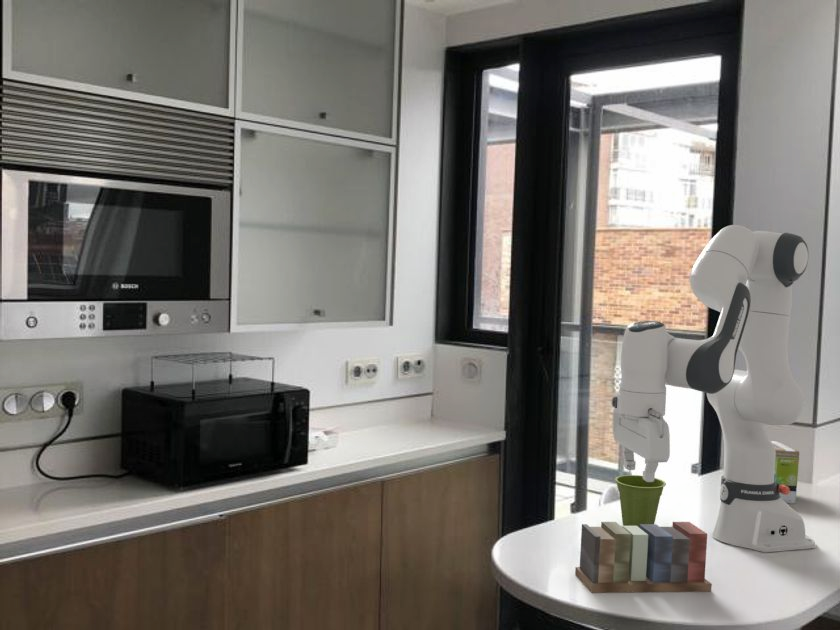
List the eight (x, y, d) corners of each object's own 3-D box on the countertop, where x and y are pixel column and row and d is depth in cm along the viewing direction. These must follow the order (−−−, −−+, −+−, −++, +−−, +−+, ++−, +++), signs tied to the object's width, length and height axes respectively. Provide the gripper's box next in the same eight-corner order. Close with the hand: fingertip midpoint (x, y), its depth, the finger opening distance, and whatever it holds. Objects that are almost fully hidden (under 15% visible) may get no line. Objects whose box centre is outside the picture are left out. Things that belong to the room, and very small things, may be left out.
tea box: (797, 504, 242) (800, 450, 241) (760, 502, 242) (763, 449, 241) (775, 490, 257) (779, 439, 256) (741, 489, 257) (744, 438, 256)
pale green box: (634, 569, 178) (636, 525, 177) (645, 580, 172) (648, 534, 171) (619, 570, 177) (622, 525, 177) (630, 580, 171) (633, 534, 171)
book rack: (688, 573, 181) (691, 520, 181) (711, 591, 171) (714, 535, 171) (575, 574, 178) (578, 520, 177) (591, 592, 168) (594, 535, 167)
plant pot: (602, 522, 216) (605, 476, 216) (642, 518, 221) (644, 473, 220) (633, 536, 205) (636, 488, 205) (673, 532, 210) (676, 485, 210)
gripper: (680, 414, 163) (676, 488, 163) (637, 396, 183) (634, 463, 184) (647, 414, 162) (644, 488, 163) (608, 396, 182) (605, 463, 183)
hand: (638, 475), depth 173 cm, fingers open, 8 cm apart
